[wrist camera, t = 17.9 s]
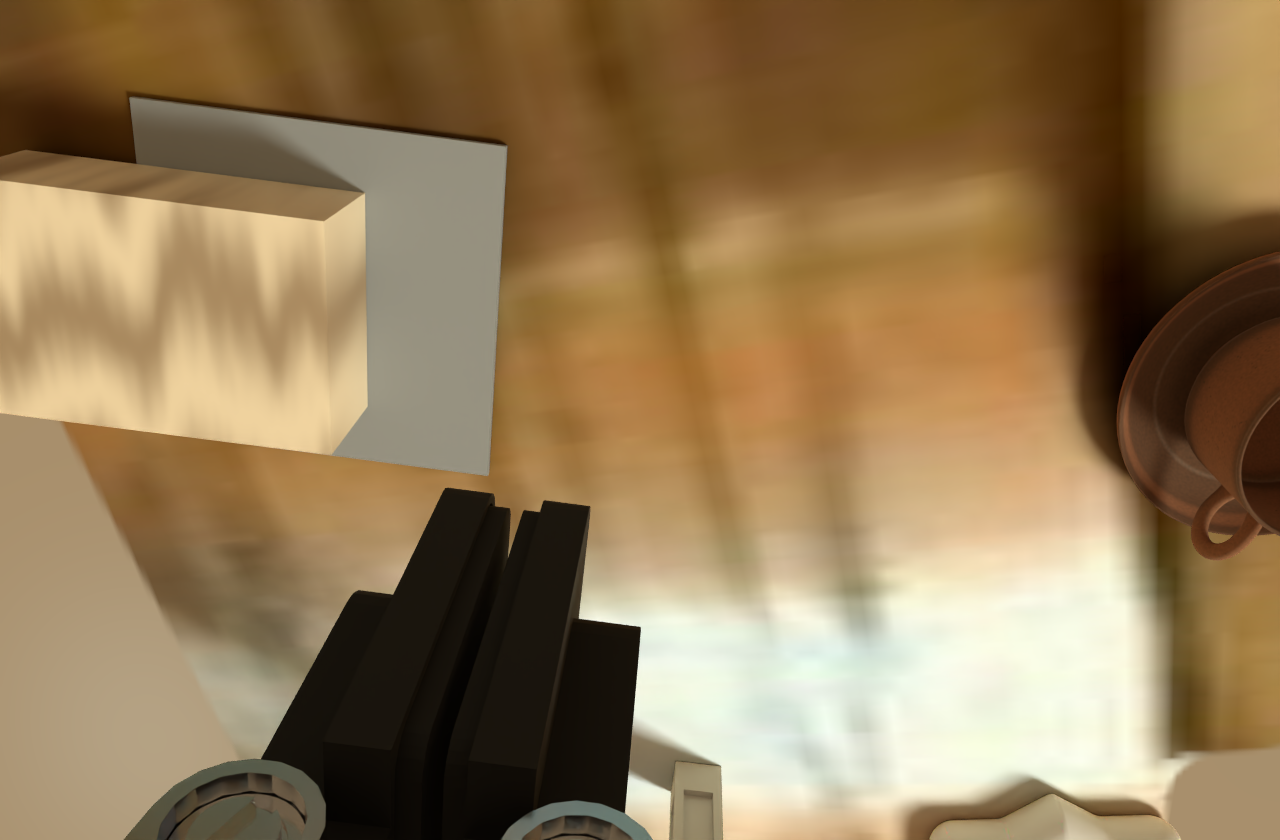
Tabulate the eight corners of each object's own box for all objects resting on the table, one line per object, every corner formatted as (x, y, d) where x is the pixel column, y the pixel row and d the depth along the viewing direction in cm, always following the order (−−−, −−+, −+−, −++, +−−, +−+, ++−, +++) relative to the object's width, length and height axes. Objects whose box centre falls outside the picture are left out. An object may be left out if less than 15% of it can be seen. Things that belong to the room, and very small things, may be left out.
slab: (365, 192, 36) (25, 149, 36) (324, 221, 32) (-58, 172, 32) (368, 405, 40) (61, 366, 40) (331, 455, 36) (-10, 411, 36)
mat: (133, 96, 36) (129, 97, 35) (507, 145, 36) (505, 146, 35) (170, 430, 42) (166, 433, 41) (489, 472, 42) (487, 475, 41)
